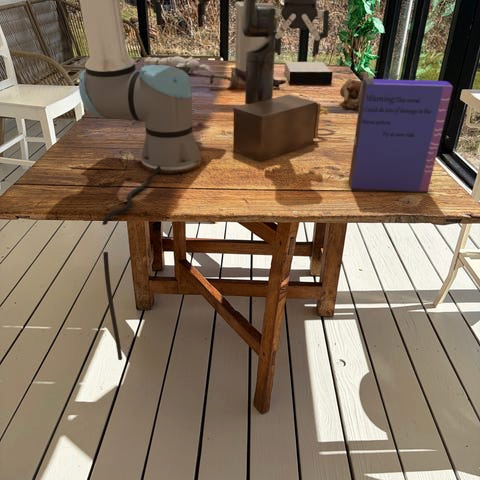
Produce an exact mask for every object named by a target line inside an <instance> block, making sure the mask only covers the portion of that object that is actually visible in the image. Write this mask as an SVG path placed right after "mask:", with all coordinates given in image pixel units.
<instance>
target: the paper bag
mask: <svg viewBox="0 0 480 480" xmlns="http://www.w3.org/2000/svg"><path fill="white" fill-rule="evenodd" d="M243 4H244V1H235V59H234V60H235V62H234V63H235V65H234V66H235V67H234V68H237V69H240V70H242V71H244V72H245V71H246V52H247V50H248V49H250V48H253V47H255V46H257V45H259V44H260V43H261V42H262V41H263V40H264V37H246V36H244V34H243V32H242V12H243ZM255 5H274V4H273V3H269V2H267V3H266V2H265V3H264V2H256V4H255Z"/></svg>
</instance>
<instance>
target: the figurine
mask: <svg viewBox="0 0 480 480" xmlns="http://www.w3.org/2000/svg"><path fill="white" fill-rule="evenodd" d="M230 69H231V72H230V73H231V74H230V76H229V75H225V74H213V73H211V74H210V78H209V85H212V84H213V83H214V79H215V78H216V79H223V80H227V81H229V84H228V88H229V89H241V88H245V86H246V71H245V72H244V71H242V70H240V69H237V68H235V67H232V66H231V67H230ZM286 83H287V80H285V79H275V78H274V79H273V88H280V86H281V85H284V84H286Z"/></svg>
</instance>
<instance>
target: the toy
mask: <svg viewBox="0 0 480 480" xmlns="http://www.w3.org/2000/svg"><path fill="white" fill-rule="evenodd" d="M147 65H164V66H170V67H188V68H190V70H189V71H188V72H187V74H188V75H193V74H194V71H199V69H201V70H205V71H206V72H208V73H211V72H212V68H211V67H210V66H209V65H207V64H203V63H202V64H200V61H199V60H197V59H194V56H189V57H188V58H185V57H181V56H178V55H175V56H168V57H162V58H159V57H151V56H147V57H145V58H144V60H143V67H144V66H147Z"/></svg>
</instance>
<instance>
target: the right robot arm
mask: <svg viewBox="0 0 480 480" xmlns="http://www.w3.org/2000/svg"><path fill="white" fill-rule="evenodd" d="M317 1H318V0H283V7H282V8H277V7H276V5H274V4H273V5H255V4H256V3H257V0H243V2H244V4H243V12H242V32H243V34H244V36H246V37H264V40H263V41H262V42H261V43H260V44H259V45H257V46H255V47H253V48H250V49H248V50H247V52H246V86H245V87H244V88H245V91H244V92H245V93H244V94H245V95H244V105H247V104H252V103H256V102H260V101H264V100H268V99H272V98H274V87H273V79H275V78H274V76H275V54H276V55H277V56H281V55H282V39H283V38H282V36H283V34H284V33H285V32H286V31H287V29H288V28H289V29H291V30H296V29H299V30H306V29H308V30H309V33H310V34H311V35H312V36H313V38H314V39H313V46H312V56H311V57H312V58H316V55H318V54H319V51H320V41H321V40H323V39H326V38H328V37H329V22H330V21H329V20H330V10H329V9H328V8H325V9H318V7H317ZM280 15H281V16H282V18H283V20H284V22H283V24H282V25H281V26H280V28H279V29H278V23H279V16H280ZM317 16H319V19H320V20H321V21H322V31H321V32H319V31H318V29H317V27H316V26H315V24H314V22H313V21H315V19H316V18H317Z"/></svg>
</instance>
